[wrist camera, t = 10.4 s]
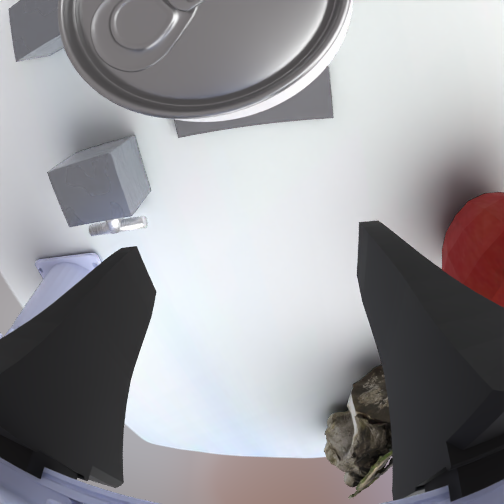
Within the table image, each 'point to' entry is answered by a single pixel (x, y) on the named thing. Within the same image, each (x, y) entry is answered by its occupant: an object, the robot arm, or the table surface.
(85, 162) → the block
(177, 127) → the mat
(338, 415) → the hollow geode rock
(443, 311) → the robot arm
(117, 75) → the can
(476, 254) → the apple
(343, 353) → the table surface
